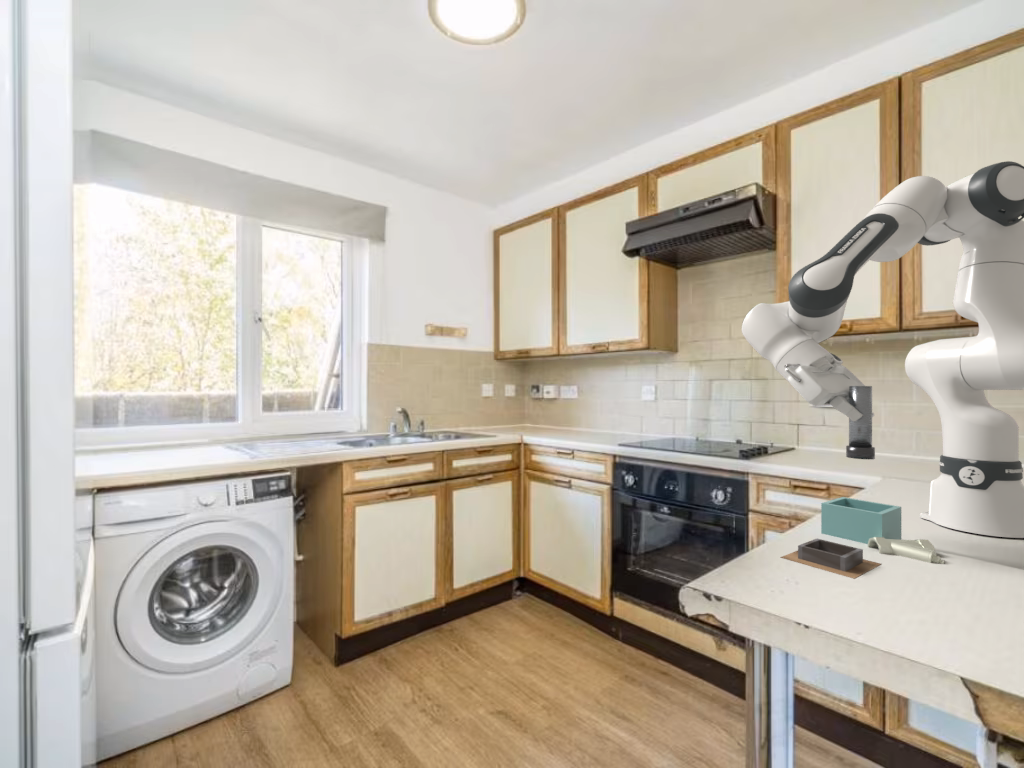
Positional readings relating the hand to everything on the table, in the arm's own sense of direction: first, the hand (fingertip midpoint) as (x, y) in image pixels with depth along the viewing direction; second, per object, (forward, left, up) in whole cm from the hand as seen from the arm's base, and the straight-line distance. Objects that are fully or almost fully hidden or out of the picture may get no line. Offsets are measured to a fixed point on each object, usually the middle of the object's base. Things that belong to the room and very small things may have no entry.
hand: (864, 418), depth 86 cm
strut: (0, -1, -7) cm, 7 cm away
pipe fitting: (+6, +8, -23) cm, 25 cm away
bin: (0, -1, -23) cm, 23 cm away
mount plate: (+19, +2, -23) cm, 30 cm away
